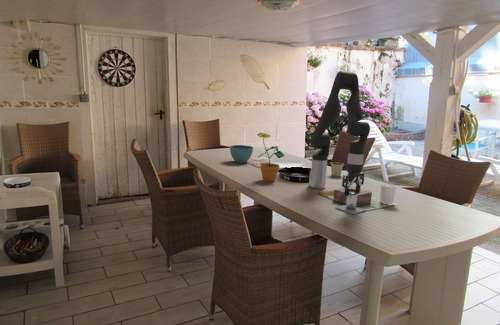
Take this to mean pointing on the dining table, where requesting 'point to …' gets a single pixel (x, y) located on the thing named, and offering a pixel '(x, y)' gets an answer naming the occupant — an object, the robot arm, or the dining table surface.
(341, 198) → the housing
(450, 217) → the dining table surface
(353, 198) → the shiny metal cylinder
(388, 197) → the white cup
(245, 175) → the dining table surface
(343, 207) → the mat
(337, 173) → the flower pot
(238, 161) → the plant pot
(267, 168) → the potted plant
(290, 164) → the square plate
